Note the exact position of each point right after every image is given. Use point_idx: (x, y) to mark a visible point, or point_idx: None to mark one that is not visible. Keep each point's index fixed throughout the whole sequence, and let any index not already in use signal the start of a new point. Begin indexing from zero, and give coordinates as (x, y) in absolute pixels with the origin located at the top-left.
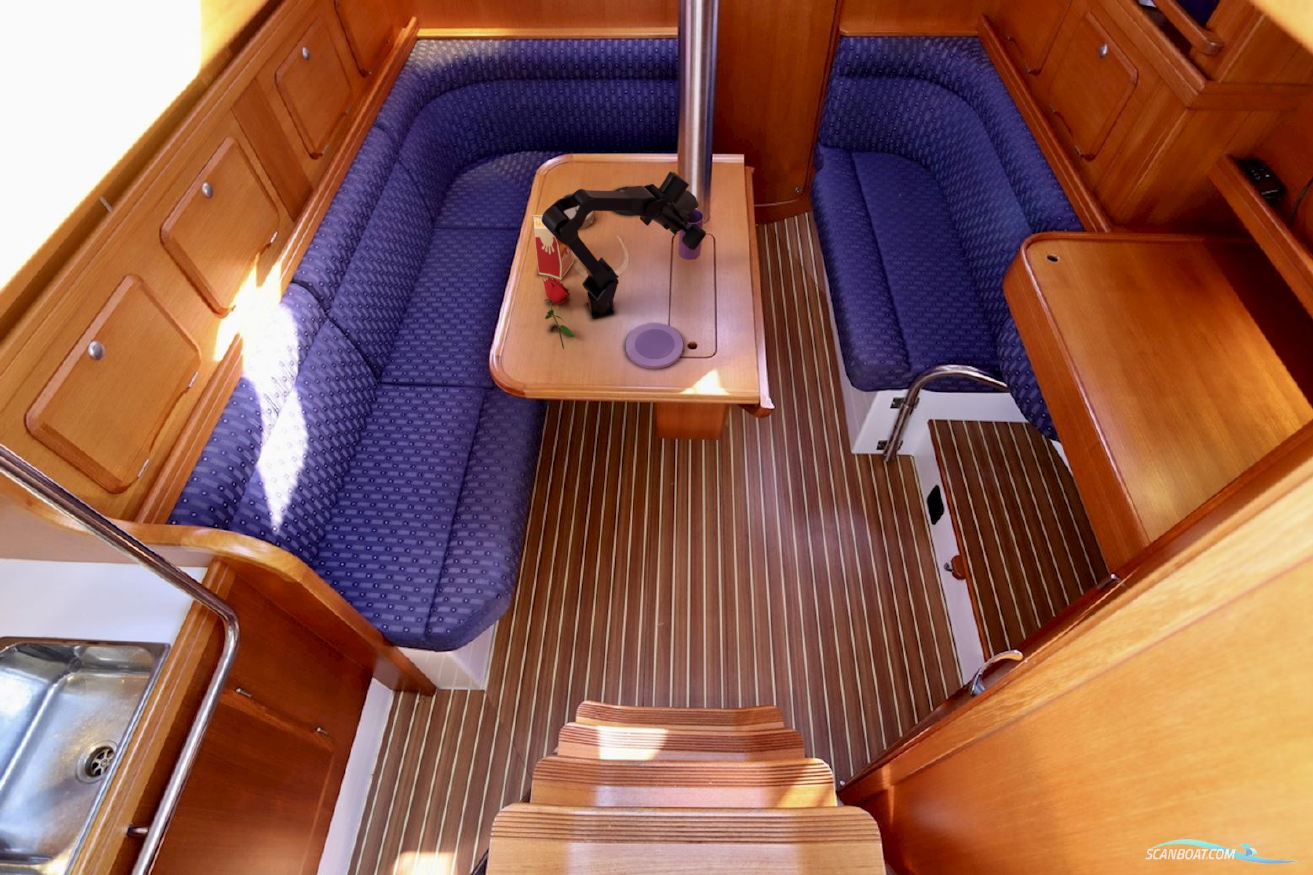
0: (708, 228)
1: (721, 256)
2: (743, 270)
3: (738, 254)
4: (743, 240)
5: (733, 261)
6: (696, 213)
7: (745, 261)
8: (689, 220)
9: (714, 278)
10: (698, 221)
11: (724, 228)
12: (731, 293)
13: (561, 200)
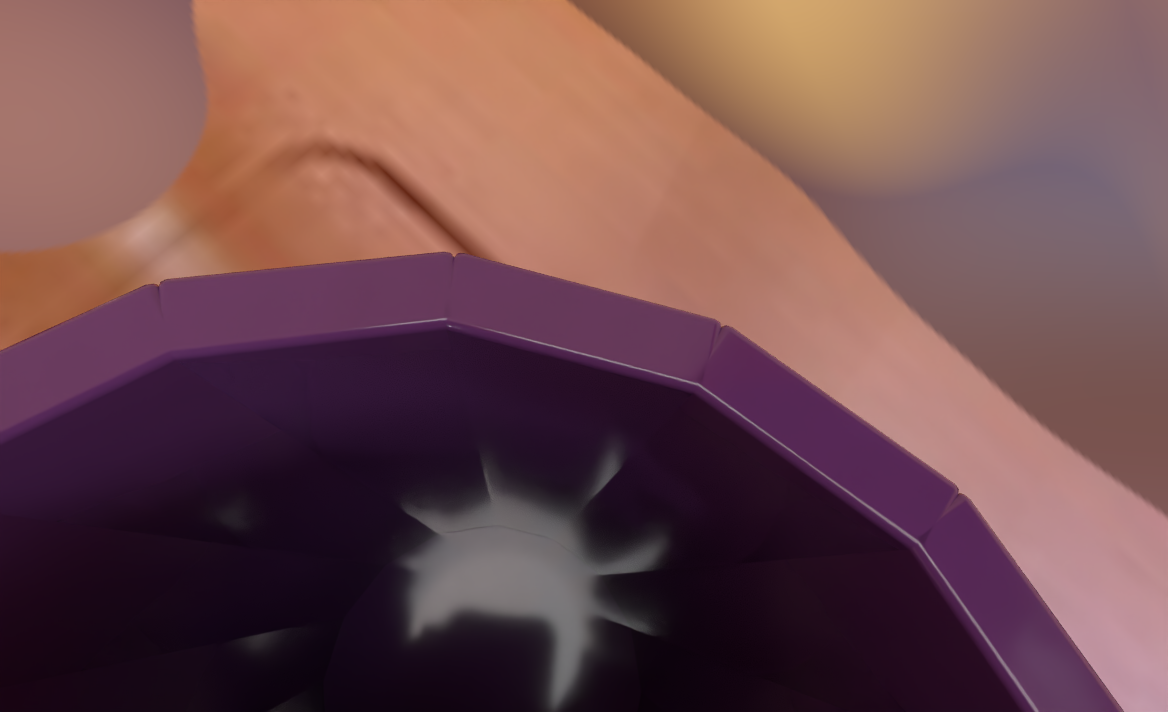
0: (234, 103)
1: (597, 287)
2: (857, 279)
3: (676, 167)
4: (574, 21)
5: (717, 258)
6: (254, 410)
7: (780, 188)
8: (165, 616)
9: None
10: (444, 453)
11: (348, 16)
12: (1038, 579)
13: None
